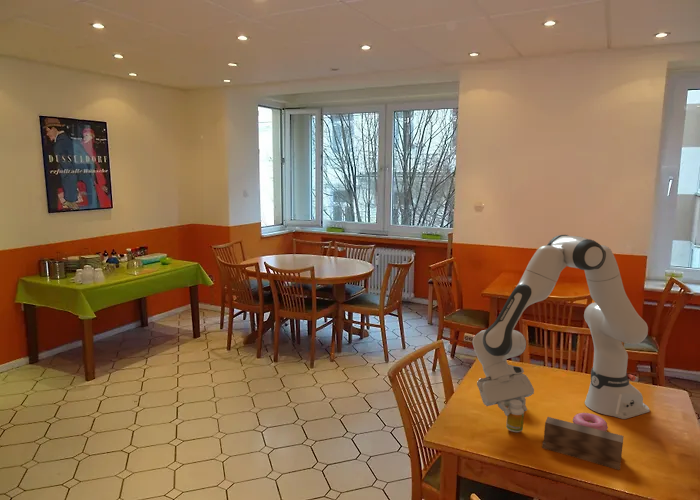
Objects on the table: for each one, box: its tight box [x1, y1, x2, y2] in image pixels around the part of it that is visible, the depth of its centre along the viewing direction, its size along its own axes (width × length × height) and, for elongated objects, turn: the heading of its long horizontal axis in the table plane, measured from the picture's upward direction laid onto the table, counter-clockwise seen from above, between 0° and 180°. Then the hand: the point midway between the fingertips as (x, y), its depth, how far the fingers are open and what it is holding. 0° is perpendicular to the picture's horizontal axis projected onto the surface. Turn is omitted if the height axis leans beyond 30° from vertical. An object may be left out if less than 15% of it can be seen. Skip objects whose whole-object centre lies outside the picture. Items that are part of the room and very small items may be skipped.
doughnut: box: [572, 412, 609, 432], centre depth 169 cm, size 11×11×4 cm
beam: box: [541, 416, 625, 471], centre depth 154 cm, size 22×8×8 cm, turn 59°
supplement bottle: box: [505, 399, 525, 433], centre depth 166 cm, size 5×5×10 cm
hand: (516, 413), depth 165 cm, fingers closed on supplement bottle, 5 cm apart
